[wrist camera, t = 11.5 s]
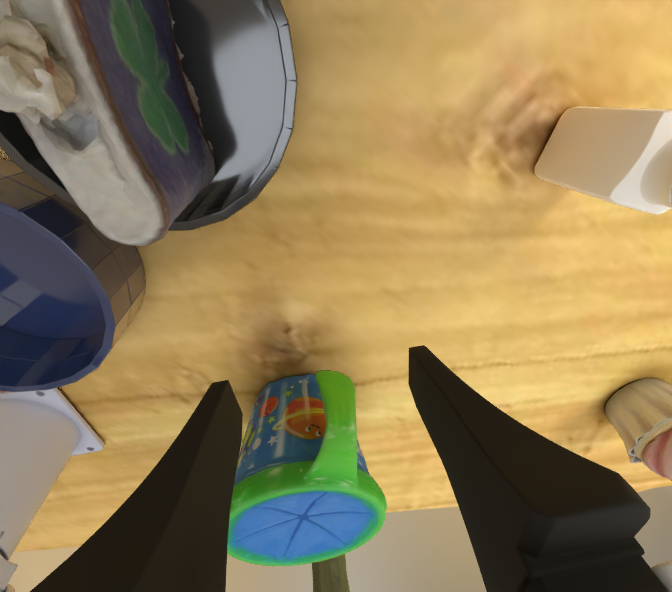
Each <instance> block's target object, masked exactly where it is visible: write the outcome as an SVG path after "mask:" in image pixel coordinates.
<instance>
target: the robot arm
mask: <svg viewBox="0 0 672 592" xmlns="http://www.w3.org/2000/svg"><path fill="white" fill-rule="evenodd" d="M409 386H410V389H411V392H412V395H413V398H414V401H415V404H416V407H417V409H418V411H419V414H420V416H421V418H422V420H423V422H424V424H425V426H426V428H427V431H428V433H429V435H430V437H431V439H432V441H433V443H434V445H435V447H436V450H437V452H438V454H439V456H440V458H441V460H442V463H443V465H444V467H445V470H446V472H447V475H448V478H449V480H450V483H451V486H452V489H453V491H454V494H455V497H456V500H457V503H458V505H459V508H460V511H461V514H462V517H463V520H464V523H465V525H466V528H467V531H468V534H469V537H470V540H471V543H472V546H473V549H474V552H475V556H476V559H477V562H478V565H479V568H480V571H481V574H482V577H483V581H484V584H485V587H486V590H487V592H672V561H669V562H665V563H661V564H658V565H656V566H654V567H652V568H650V567H649V565H648V564H647V563H646V562H645V560H644V559H643V558H642V556H641V555H643V554H644V549H643V548H642V547H641V546H640V544H639V543H638V542H637V541H636V539H635V538H634V536H635V535H636V534H637V533H638V532H639V531H640V529H641V528H642V527H643V526H644V525H645V524H646V523H647V521H648V520H649V518H650V508H649V506H648V505H647V504H646V503H645V502H644V501H643V500H642V499H641V497H640V496H639V495H638V494H637V492H636V491H635V490H634V489H633V488H632V487H631V486H630V485H629V484H628V483H627V482H626V481H625V480H624V479H623V478H622V476H621V475H620V474H619V473H616V472H614V471H612V470H610V469H608V468H605V467H603V466H601V465H599V464H597V463H594V462H592V461H590V460H588V459H586V458H583V457H581V456H579V455H577V454H575V453H573V452H571V451H569V450H567V449H565V448H563V447H561V446H560V445H558V444H556V443H554V442H552V441H550V440H548V439H547V438H545V437H543V436H541V435H540V434H538V433H536V432H534V431H533V430H531V429H529V428H528V427H526V426H524V425H522V424H521V423H519V422H518V421H516V420H515V419H513V418H511V417H510V416H508V415H507V414H506V413H504V412H503V411H501V410H500V409H498V408H497V407H495V406H494V405H493V404H491V403H490V402H489V401H487V400H486V399H485V398H483V397H482V396H481V395H479V394H478V393H477V392H476V391H474V390H473V389H472V388H471V387H469V386H468V385H467V384H466V383H465V382H464V381H462V380H461V379H460V378H459V377H458V376H457V375H455V374H454V373H453V372H452V371H451V370H450V369H449V368H448V367H447V366H445V365H444V364H443V363H442V362H441V361H440V360H439V359H438V358H437V357H436V356H435V355H434V354H433V353H432V352H431V351H430V350H429V349H428V348H427V347H426V346H424V345H423V346H417V347H412V348H409ZM242 416H243V414H242V411H241V409H240V407H239V404H238V402H237V400H236V397H235V395H234V392H233V390H232V388H231V385H230V383H229V381H228V380H225V381H220V382H214V383H212V384H211V385H210V387H209V389H208V390H207V392H206V393H205V395H204V397H203V398H202V400H201V401H200V403H199V405H198V406H197V408H196V409H195V411H194V413H193V414H192V416H191V417H190V419H189V420H188V422H187V423H186V425H185V426H184V428H183V429H182V431H181V432H180V434H179V435H178V437H177V438H176V439H175V441H174V442H173V443H172V445H171V446H170V448H169V449H168V450H167V452H166V453H165V454H164V456H163V457H162V458H161V460H160V461H159V462H158V464H157V465H156V466H155V467H154V469H153V470H152V471H151V472H150V474H149V475H148V476H147V477H146V478H145V480H144V481H143V482H142V483H141V484H140V486H139V487H138V488H137V489H136V490H135V491H134V492H133V494H132V495H131V496H130V497H129V498H128V499H127V500H126V501H125V502H124V503H123V504H122V505H121V507H120V508H119V509H118V510H117V511H116V512H115V513H114V514H113V515H112V516H111V517H110V518H109V519H108V520H107V521H106V522H105V523H104V524H103V525H102V526H101V527H100V528H99V529H98V530H97V531H96V532H95V533H94V534H93V535H92V536H91V537H90V538H89V539H88V540H87V541H86V542H85V543H84V544H83V545H82V546H81V547H80V548H79V549H78V550H77V551H75V552H74V553H73V554H72V555H71V556H70V557H69V558H68V559H67V560H66V561H65V562H63V563H62V564H61V565H60V566H59V567H58V568H57V569H55V570H54V571H53V572H52V573H51V574H50V575H49V576H47V577H46V578H45V579H44V580H43V581H42V582H41V583H39V584H38V585H37V586H36V587H35V588H34V589H32V590H31V591H30V592H225V587H226V564H227V546H228V532H229V518H230V508H231V500H232V494H233V488H234V482H235V476H236V470H237V465H238V458H239V452H240V446H241V439H242ZM104 445H105V444H104V442H103V441H102V440H101V439H100V438H99V436H98V435H97V434H96V433H95V432H94V431H93V429H92V428H91V427H90V426H89V425H88V424H87V422H86V421H85V420H84V419H83V418H82V417H81V415H80V414H79V413H78V412H77V411H76V409H75V408H74V407H73V406H72V405H71V404H70V402H69V401H68V400H67V399H66V398H65V397H64V395H63V394H62V393H61V392H60V391H59V389H58V388H53V389H50V390H40V391H27V392H8V391H4V392H0V592H15V589H14V587H13V586H12V585H10V584H8V582H9V580H10V579H11V577H12V575H13V573H14V571H15V570H16V568H17V566H18V565H17V564H14V563H11V562H9V561H8V560H9V559H10V557H11V555H12V554H13V552H14V550H15V549H16V547H17V545H18V544H19V542H20V540H21V539H22V537H23V535H24V534H25V532H26V530H27V529H28V527H29V525H30V524H31V522H32V520H33V519H34V517H35V515H36V514H37V512H38V510H39V509H40V507H41V505H42V504H43V502H44V500H45V499H46V497H47V495H48V494H49V492H50V490H51V489H52V487H53V485H54V484H55V482H56V480H57V478H58V477H59V475H60V473H61V472H62V470H63V468H64V467H65V465H66V463H67V462H68V460H69V458H70V457H71V456H74V455H79V454H85V453H90V452H96V451H100V450H102V449H103V447H104Z"/></svg>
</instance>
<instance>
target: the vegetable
mask: <svg viewBox="0 0 672 592" xmlns="http://www.w3.org/2000/svg"><path fill="white" fill-rule="evenodd" d="M312 570H313V592H350V591H349V585H348V580H347V572H346V560H345V554H342V555H340V556H337V557H334V558H330V559H327V560H323V561H319V562H313V563H312Z"/></svg>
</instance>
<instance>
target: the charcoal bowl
mask: <svg viewBox="0 0 672 592" xmlns="http://www.w3.org/2000/svg"><path fill="white" fill-rule="evenodd" d="M168 2H169V8H170V12H171V16H172V20H173V21H175V24H173V36H174V39H175V43H176V44H177V46H178V48H179V49H180V52H181V53H182V54H183V55H184V57H183V58H182V59H181V60H180V61H181V67H182V71H183V72H184V74H185V75H186V77H187V78H188V82H191V85H192V86H193V87H194V92H195V94H196V96H197V97H198V106H199V109H200V114H199V115H200V118H201V122H200V123H201V124H202V128H203V132H204V135H205V137H206V139H207V141H210V143H211V146H212V147H213V149H212V152H213V157H214V164H215V171H216V172H215V175H214V178H213V179H212V181H211V182H210V183H209V185H208V186H206V187H205V188H204V189H203V190H202V191H201V192H200V193H199V194H198V195H197V196H196V197H195V198H194V199H193V201H192V202H191V203H190V204H188V205H187V207H186V208H185V209H184V210H183V211H182V212H181V213H180V215H179V216H178V217H177V218H176V219H175V220H174V221H173V223H172V224H171V226H170V228H169V230H168V231H184V230H193V229H197V228H200V227H203V226H206V225H210V224H213V223H216V222H220V221H223V220H225V219H227V218H229V217H230V216H232V215H233V214H234V213H236V212H237V211H239V210H240V209H242V208H243V207H245V206H246V205H248V204H249V203H250V202H252V201H253V200H254V199H256V197H257V196H258V195H259V194H260V192H261V191H262V190H263V188H264V187H265V186H266V184H267V183H268V182H269V181H270V179H271V178H272V177H273V175H274V174H275V173H276V172H277V170H278V168H279V166H280V163H281V160H282V158H283V155H284V152H285V150H286V147H287V144H288V142H289V139H290V136H291V134H292V131H293V130H292V129H293V125H294V114H295V103H296V92H297V74H296V67H295V60H294V54H293V47H292V40H291V34H290V27H289V24H288V20H287V17H286V15H285V12H284V9H283V7H282V4H281V2H280V0H168ZM0 147H1V148H2V149H3V151H4V152H5V153H6V154H7V155H8V156H9V157H10V158H11V159H12V160H13V161H14V162H15V163H16V164H17V165H18V167H20V168H21V169H22V170H23V171H25V172H26V173H27V174H29V175H30V176H31V177H33V178H34V179H36V180H37V181H38V182H40V183H41V184H42V185H44V186H45V187H46V188H48V189H49V190H51V191H52V192H53V193H55V194H56V195H57V196H59V197H60V198H62V199H63V200H65V201H66V202H68V203H70V204H73V205H75V206H77V207H78V205H77V204H76V203H75V201H74V200H73V198H72V197H71V195H70V194H69V192H68V191H67V189H66V188H65V186H64V185H63V183H62V182H61V180H60V179H59V178H58V176H57V175H56V174H55V172H54V171H53V170H52V168H51V167H50V166H49V164H48V163H47V162H46V161H45V159H44V158H43V157H42V155H41V154H40V153H39V151H38V149H37V147H36V145H35V143H34V141H33V140H32V138H31V137H30V136H29V135H28V133H27V132H26V131H25V129H24V127H23V125H22V123H21V121H20V119H19V118H18V117H17V115H16V114H15V113H14V112H5V111H3V110H0Z"/></svg>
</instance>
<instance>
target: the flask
mask: <svg viewBox="0 0 672 592" xmlns="http://www.w3.org/2000/svg"><path fill="white" fill-rule="evenodd" d="M173 24H175V21H173V20H172V16H171V12H170V8H169V2H168V0H0V110H3V111H5V112H14V113H15V114H16V115H17V117H18V118H19V119H20V121H21V123H22V125H23V127H24V129H25V131H26V132H27V133H28V135H29V136H30V137H31V138H32V140H33V141H34V143H35V145H36V147H37V149H38V151H39V153H40V154H41V155H42V157H43V158H44V159H45V161H46V162H47V163H48V164H49V166H50V167H51V168H52V170H53V171H54V172H55V174H56V175H57V176H58V178H59V179H60V180H61V182H62V183H63V185H64V186H65V188H66V189H67V191H68V192H69V194H70V195H71V197H72V198H73V200H74V201H75V203H76V204H77V205H78V207H79V208H80V209H81V210H82V211H83V212H84V213H85V214H86V215H87V216H88V217H89V219H90V220H91V222H92V223H93V225H94V226H95V227H96V228H97V229H98V230H99V231H100V232H101V233H102V234H103V235H105V236H106V237H107V238H109V239H110V240H113V241H116V242H118V243H120V244H125V245H131V246H146V245H149V244H152V243H154V242H156V241H158V240H160V239H161V238H163V237H164V236H165V235H166V233H167V232H168V230H169V228H170V226H171V224H172V223H173V221H174V220H175V219H176V218H177V217H178V216H179V215H180V213H181V212H182V211H183V210H184V209H185V208H186V207H187V205H188V204H190V203H191V202H192V201H193V199H194V198H195V197H196V196H197V195H198V194H199V193H200V192H201V191H202V190H203V189H204V188H205V187H206V186H208V185H209V183H210V182H211V181H212V179H213V178H214V175H215V172H216V171H215V164H214V157H213V152H212V149H213V147H212V146H211V143H210V141H207V139H206V137H205V135H204V132H203V128H202V124H201V123H200V122H201V118H200V115H199V114H200V109H199V106H198V97H197V96H196V94H195V92H194V87H193V86H192V85H191V82H188V78H187V77H186V75H185V74H184V72H183V71H182V67H181V61H180V60H181V59H182V58H183V57H184V55H183V54H182V53H181V52H180V49H179V48H178V46H177V44H176V43H175V39H174V36H173Z"/></svg>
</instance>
